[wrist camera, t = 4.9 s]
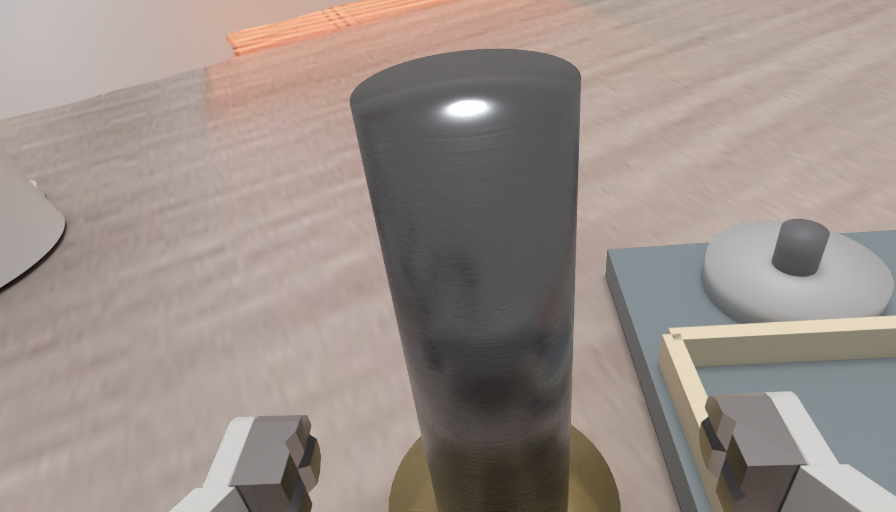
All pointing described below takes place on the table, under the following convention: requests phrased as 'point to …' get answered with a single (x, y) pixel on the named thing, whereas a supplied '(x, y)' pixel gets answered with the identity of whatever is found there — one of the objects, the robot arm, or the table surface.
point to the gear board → (765, 338)
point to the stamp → (483, 276)
